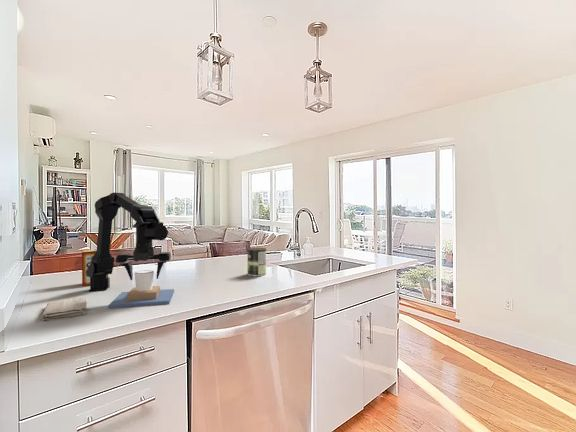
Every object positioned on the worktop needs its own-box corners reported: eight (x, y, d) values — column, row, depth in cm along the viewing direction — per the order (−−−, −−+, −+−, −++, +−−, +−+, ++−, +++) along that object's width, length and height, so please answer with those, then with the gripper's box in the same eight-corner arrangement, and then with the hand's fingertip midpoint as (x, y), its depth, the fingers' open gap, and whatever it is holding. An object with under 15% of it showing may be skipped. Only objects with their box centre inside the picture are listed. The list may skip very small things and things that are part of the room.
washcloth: (41, 323, 95) (41, 313, 95) (46, 308, 110) (46, 299, 110) (87, 316, 102) (87, 307, 102) (86, 303, 117) (86, 294, 117)
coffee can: (248, 276, 161) (248, 250, 161) (246, 273, 171) (246, 247, 171) (267, 275, 164) (267, 249, 164) (264, 272, 174) (264, 247, 174)
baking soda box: (82, 286, 141) (81, 251, 141) (82, 283, 147) (82, 249, 146) (106, 283, 146) (106, 249, 146) (105, 281, 152) (105, 248, 152)
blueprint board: (108, 308, 109) (108, 297, 109) (122, 295, 126) (121, 286, 126) (169, 303, 114) (169, 293, 114) (174, 291, 131) (173, 283, 131)
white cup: (134, 292, 115) (134, 274, 115) (134, 288, 121) (134, 270, 121) (154, 290, 118) (154, 272, 118) (153, 286, 125) (153, 269, 124)
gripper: (111, 241, 109) (111, 285, 110) (167, 240, 114) (167, 282, 114) (119, 239, 120) (120, 279, 120) (170, 238, 125) (171, 276, 125)
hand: (144, 279), depth 120 cm, fingers open, 9 cm apart
